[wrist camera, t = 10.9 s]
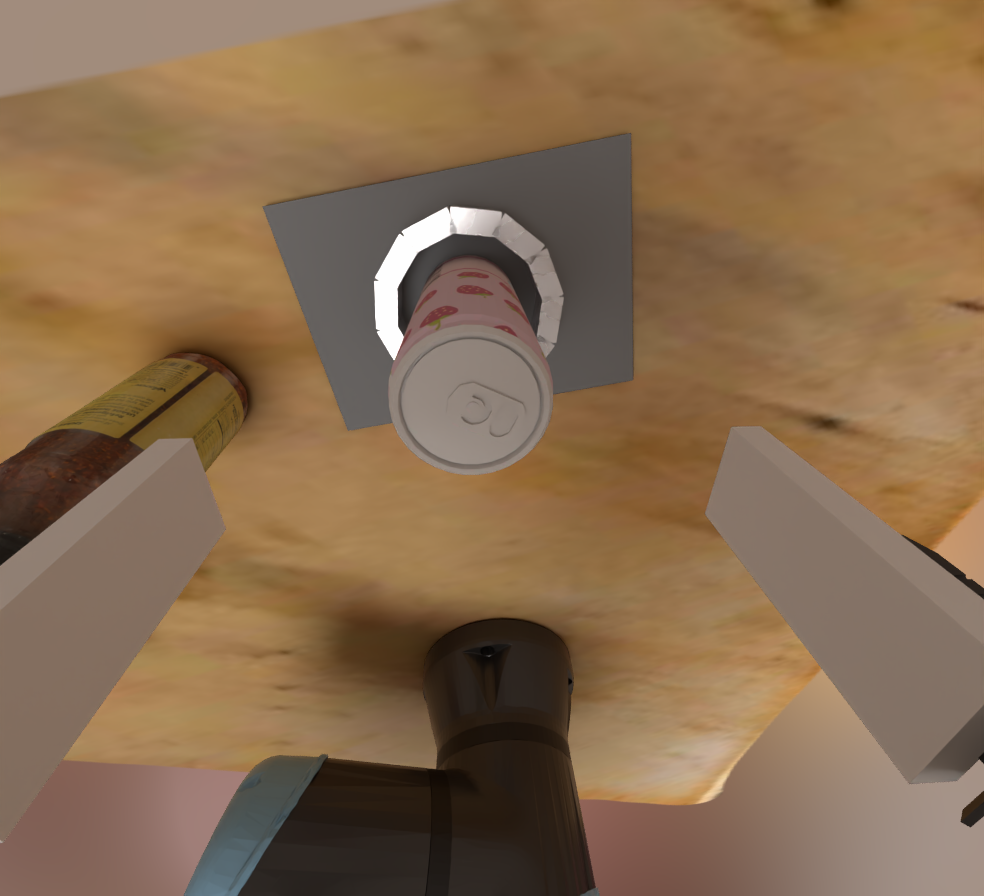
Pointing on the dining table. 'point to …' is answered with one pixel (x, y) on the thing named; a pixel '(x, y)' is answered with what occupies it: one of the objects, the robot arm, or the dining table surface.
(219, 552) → the dining table surface
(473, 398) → the beverage can
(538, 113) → the dining table surface
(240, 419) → the sauce bottle
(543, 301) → the white segmented ring
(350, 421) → the holder mat
